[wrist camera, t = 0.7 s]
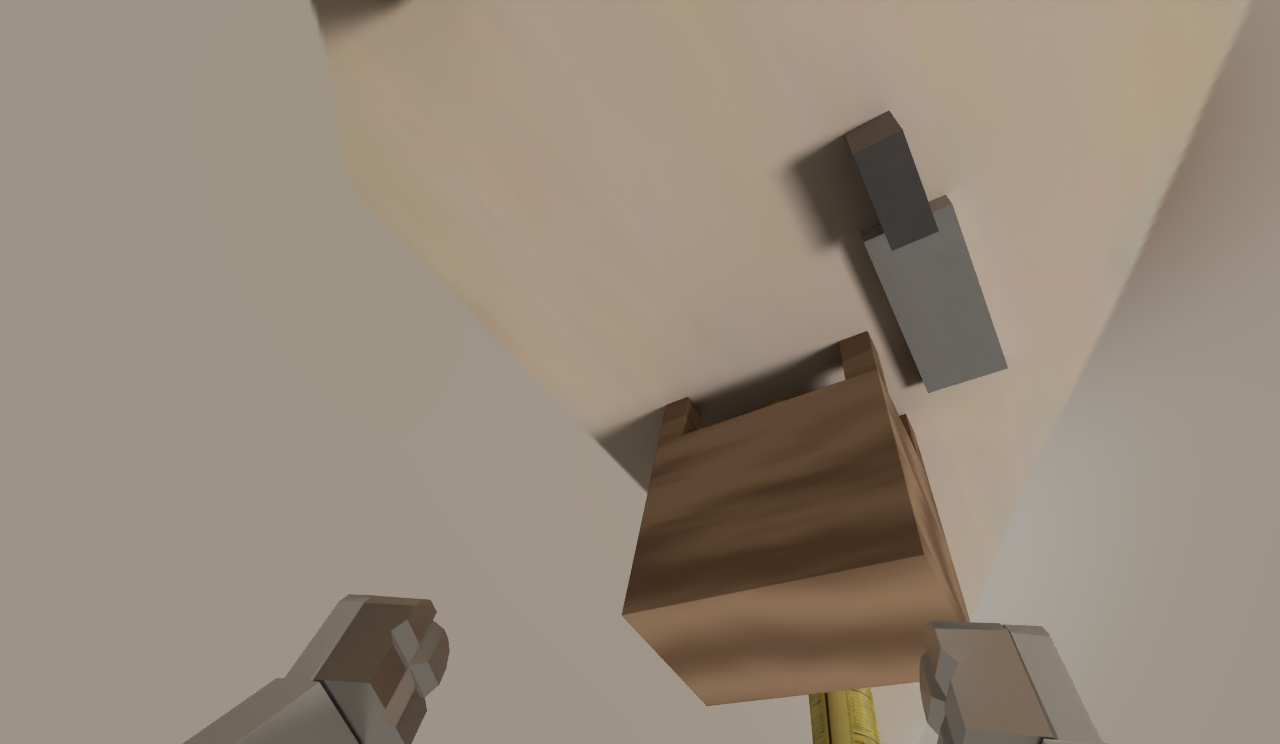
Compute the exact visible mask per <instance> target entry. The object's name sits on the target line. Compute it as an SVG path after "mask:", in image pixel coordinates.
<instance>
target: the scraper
mask: <svg viewBox="0 0 1280 744" xmlns="http://www.w3.org/2000/svg"><path fill="white" fill-rule="evenodd" d="M845 136H846V139H847V142H848V144H849V147H850V149H851V152H852V155H853V157H854V159H855V162H856V164H857V167H858V169H859V172H860V174H861V177H862V179H863V182H864V184H865V186H866V189H867V191H868V194H869V196H870V199H871V201H872V204H873V206H874V209H875V211H876V214H877V216H878V218H879V221H880V223H881V224H878V225H876V226H874V227H872V228H869V229H867V230H865V231H862V232H861V236H862V239H863V242H864V244H865V247H866V249H867V251H868V254H869V256H870V258H871V261H872V263H873V265H874V268H875V270H876V272H877V275H878V277H879V279H880V282H881V284H882V286H883V289H884V291H885V293H886V296H887V298H888V300H889V303H890V305H891V307H892V310H893V312H894V314H895V317H896V319H897V321H898V324H899V326H900V328H901V331H902V333H903V335H904V338H905V340H906V342H907V345H908V347H909V349H910V352H911V354H912V356H913V359H914V361H915V363H916V366H917V368H918V370H919V373H920V375H921V377H922V380H923V382H924V384H925V387H926V389H927V391H928V393H930V392H933V391H936V390H939V389H943V388H946V387H949V386H952V385H955V384H959V383H962V382H965V381H968V380H972V379H975V378H978V377H981V376H984V375H988V374H991V373H994V372H997V371H1001V370H1004V369H1007V368H1008V367H1007V364H1006V361H1005V358H1004V355H1003V352H1002V349H1001V346H1000V343H999V340H998V337H997V335H996V332H995V329H994V326H993V323H992V320H991V317H990V314H989V311H988V308H987V305H986V302H985V299H984V296H983V293H982V290H981V287H980V285H979V282H978V279H977V276H976V273H975V270H974V267H973V264H972V261H971V258H970V255H969V252H968V249H967V246H966V243H965V240H964V237H963V234H962V232H961V229H960V226H959V223H958V220H957V217H956V214H955V211H954V208H953V205H952V203H951V202H950V200H949V199H948V197H947V196H946V195H944V196H942V197H940V198H937V199H935V200H933V201H931V202H928V199H927V197H926V194H925V191H924V188H923V185H922V183H921V180H920V177H919V174H918V172H917V169H916V166H915V163H914V160H913V158H912V155H911V152H910V149H909V147H908V144H907V141H906V138H905V135H904V133H903V130H902V128H901V127H900V125H899V124H898V123H897V121H896V120H895V118H894V117H893V115H892V114H891V112H890V111H888V112H886V113H884V114H882V115H880V116H878V117H876V118H874V119H872V120H870V121H868V122H867V123H865V124H863V125H861V126H859V127H857V128H855V129H853V130H851V131H849V132H847V133H845Z"/></svg>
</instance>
